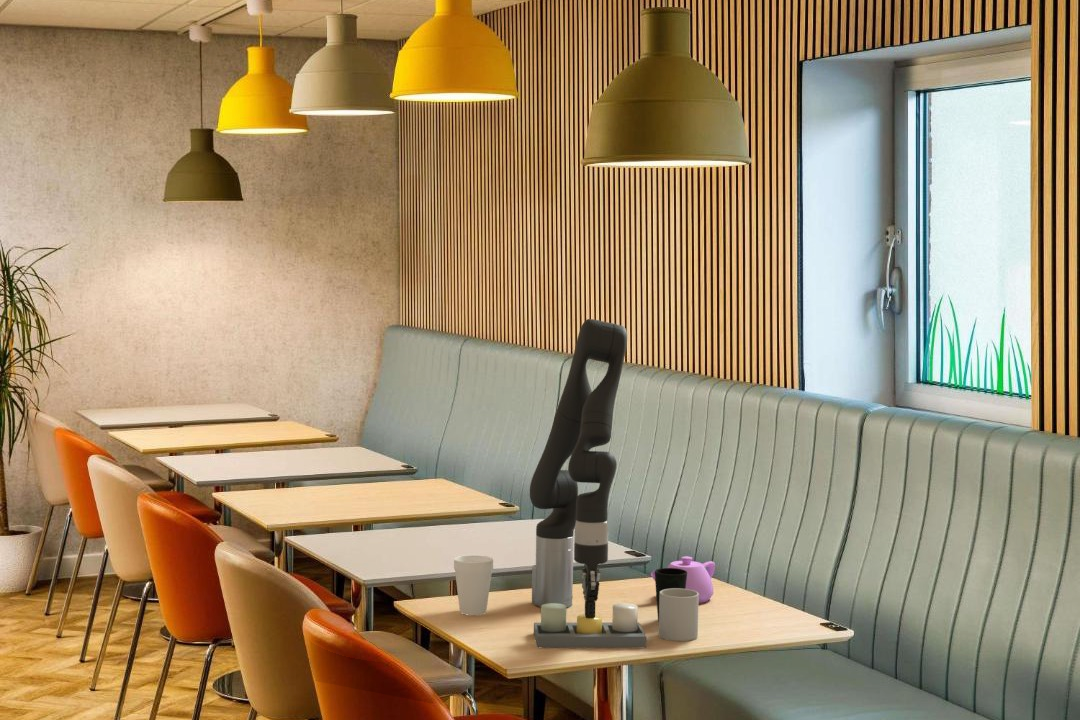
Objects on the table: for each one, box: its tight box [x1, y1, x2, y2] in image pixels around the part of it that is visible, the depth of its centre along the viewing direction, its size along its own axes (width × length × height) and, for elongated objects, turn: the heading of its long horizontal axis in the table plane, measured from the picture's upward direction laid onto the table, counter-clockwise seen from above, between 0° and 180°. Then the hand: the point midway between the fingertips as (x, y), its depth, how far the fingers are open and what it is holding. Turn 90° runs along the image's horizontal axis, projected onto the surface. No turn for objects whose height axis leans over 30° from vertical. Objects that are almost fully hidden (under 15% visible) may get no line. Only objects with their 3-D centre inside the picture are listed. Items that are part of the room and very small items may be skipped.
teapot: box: [650, 555, 716, 604], centre depth 346 cm, size 14×20×11 cm
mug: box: [658, 588, 700, 642], centre depth 311 cm, size 11×10×10 cm
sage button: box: [540, 603, 567, 632], centre depth 305 cm, size 6×6×5 cm
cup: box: [654, 567, 687, 623], centre depth 323 cm, size 8×8×12 cm
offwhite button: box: [612, 602, 639, 632], centre depth 306 cm, size 6×6×5 cm
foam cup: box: [453, 554, 494, 616], centre depth 329 cm, size 10×9×13 cm
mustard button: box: [576, 613, 603, 634], centre depth 305 cm, size 6×6×5 cm
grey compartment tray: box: [533, 621, 647, 649], centre depth 305 cm, size 24×12×2 cm, turn 94°
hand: (589, 617), depth 305 cm, fingers closed
